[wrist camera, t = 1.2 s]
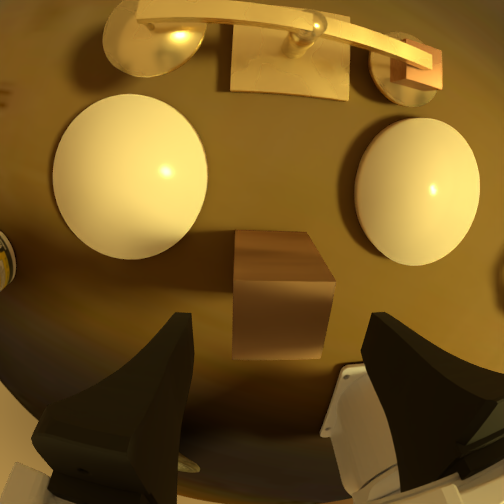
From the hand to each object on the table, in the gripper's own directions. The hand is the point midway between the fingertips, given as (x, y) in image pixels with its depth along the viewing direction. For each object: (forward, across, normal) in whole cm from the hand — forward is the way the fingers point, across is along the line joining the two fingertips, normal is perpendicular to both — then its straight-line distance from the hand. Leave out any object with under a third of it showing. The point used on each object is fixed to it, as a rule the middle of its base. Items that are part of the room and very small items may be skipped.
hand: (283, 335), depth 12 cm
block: (+7, 0, 0) cm, 7 cm away
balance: (+7, -1, -12) cm, 14 cm away
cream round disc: (+7, +8, -5) cm, 12 cm away
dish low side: (+7, -9, -5) cm, 12 cm away
